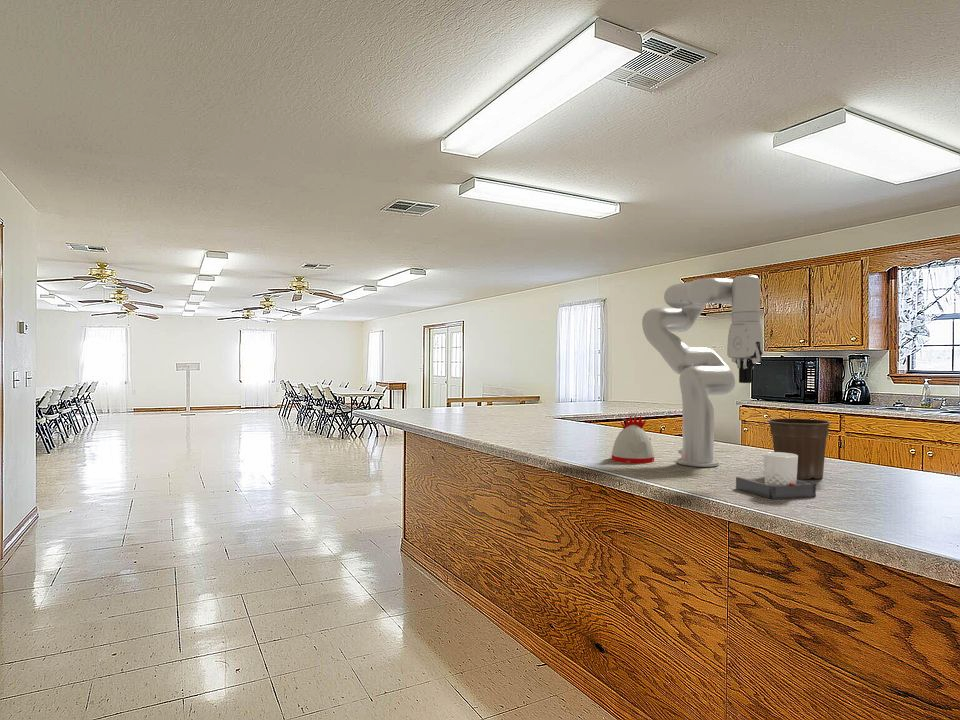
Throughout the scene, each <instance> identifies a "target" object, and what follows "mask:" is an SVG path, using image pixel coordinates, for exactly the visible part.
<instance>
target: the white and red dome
mask: <svg viewBox="0 0 960 720" xmlns="http://www.w3.org/2000/svg"><path fill="white" fill-rule="evenodd" d="M624 420H625V425H624V423H623V422H622V421H620V424H621V426H622V428H623V429H621V431H619V433H618V435H617V436H616V438H615V440H614V443H613V446H612V451H611V460H612V461H614V462H617V463H622V464H623V463H624V464H649V463H651V464H652V463H654V462H655V451H654V447H653V444H652V442H651V441H652V439H651V437H649V435H648V434H647V433H646V431H645V430H644V429H643V428H644V426H645V425H646V421H647V420H646V419H644V420H643V418H642V415H640V416H639V419H638V418H637V416H636V415H634V418H633V416H632V415H629V420H628V419H627V418H625V419H624Z"/></svg>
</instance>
